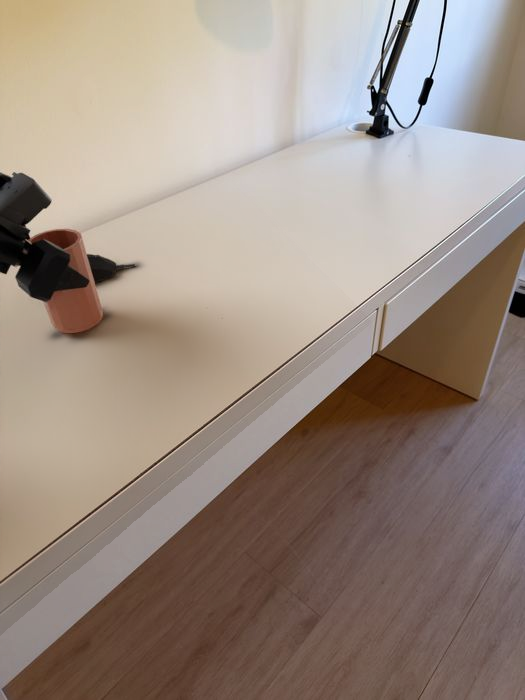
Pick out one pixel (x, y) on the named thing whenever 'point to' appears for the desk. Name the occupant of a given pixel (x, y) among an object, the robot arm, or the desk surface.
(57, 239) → the pen cup
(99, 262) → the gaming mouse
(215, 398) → the desk surface
